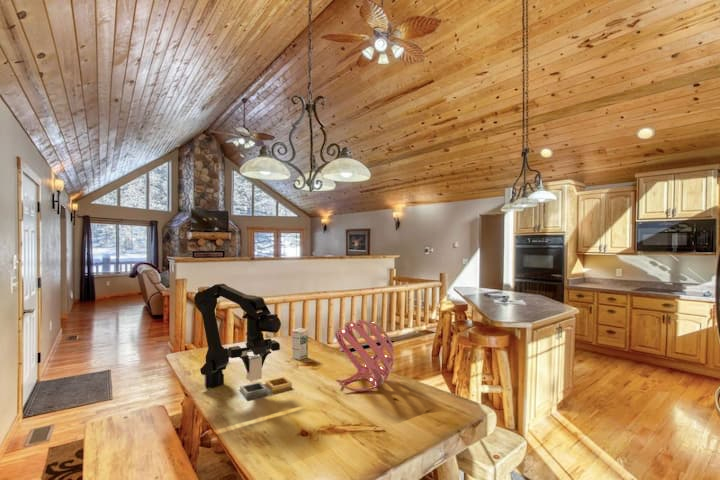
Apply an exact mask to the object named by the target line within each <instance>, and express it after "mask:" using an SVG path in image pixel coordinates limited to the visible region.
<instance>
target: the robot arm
mask: <svg viewBox="0 0 720 480" xmlns="http://www.w3.org/2000/svg"><path fill="white" fill-rule="evenodd" d="M220 297H222V298H224V299H226V300H229V301H230V302H233V303H234V304H236V305H239V306H240V309H241V310H242V311H243V312H245V314H243V315H242V317H241V318H242V319H245V320H246V332H245V336H246V343H245V347H240V345H235V346H229V347H226V348H225V347H224V346H223V345H222V343H221V336H220V332H219V327H218V322H217V321H218V320H217V315H216V308H217V306H218V299H219V298H220ZM193 300H194V304H195V308H196V309H197V310H198V311H199V312H200V313H201V315H202V322H203V327H204V328H203V329H204V331H205V332H204V334H205V338H206V344H207V351H206V354H205V363H204V365H203V366H201V368H200V373H201V375H203V376H204V387H205V388H206V389H207V388H217V387H220V386H222V385H224V383H225V374H224V373H223V371H224V370H226V369H227V366H228V364H229V362H230V359H235V358H236V359H237V358H239V359H241V360H242V362H243V364H244V367H245V371H246V373H247V372H248V373H249V361H248V359H249V355H248V353H252V354H253V356H254V355H259V356H260V357H262V367H263V366H264V363H265V361H266V358H267V357H268V355H270V354H272V352H275V351H277V352H278V351H280V350H281V344H280V342H278V341H277V340H273V339H272V338H267V339H265V338H264V333H273V334H276V333H278V332H279V331H280V329H281V327H282V322H281V319H280V318H279V317H278V314H277V313H273V314H271V311H270V309H269V308H268V306H267V303H266V301H265V299H264V298H263V297H262V296H257V295H252V294H246V293H244V292H241V291H239V290H237V289H235V288H234V287H230V286H228V285H227V284H226V283H216V284H214V285H213V286H210V287H208V288H206V289H204V290H201V291H198V292H196V293H195V295H194V297H193Z"/></svg>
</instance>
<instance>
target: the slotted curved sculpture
mask: <svg viewBox="0 0 720 480" xmlns="http://www.w3.org/2000/svg"><path fill="white" fill-rule="evenodd" d="M364 325H365V326H366V327H367V328H368V329H369V330H370V331H371V333H372V335H373V337H375V339H376V340H377V342H379V344H380V346H379V345H378V344H377V343H376V342H375V340H374V339H373V338H372V336H370V334H369V333H368V332H367V331H366V330H365V327H364ZM352 329H353V330H354V331H356V333H358V335H360V336H361V337H362V338H363V339H364V341H365V343H366V344H367V345H368V346H369V348H370V349H371V350H372V351H373V352H374V355H373V356H370V354H369V353H368V352H367V351H366V349H365V348H364V347H363V346H362V344H361V343H360V341H359V340H358V339H357V337H356V335H355V334H354V332H353V330H352ZM378 330H379V331H380V332H379V331H378ZM382 334H383V335H382ZM334 337H335V339H336V341H337V343H338V345H339V347H340V349H342V351H343V353H344V354H345V355H346V357H347V358H348V359H349V361H350V362H351V363H352V364H353V365H354V367H355V368H356V369H357V372H356V373H355V374H353V375H352V376H350V377H348V378H345V379H336V380H335V381H336V382H337V383H338V384H339V385H340V386H341V387H343V389H346V390H349V391H351V392H352V391H353V392H360V393H363V392H369V391H371V390H375V389H376V388H378V387H379V386H381V385H382V384H383V383H384V382H385V381H386V380H387V379H388V377H389V376H390V374H391V372H392V370H393V367H394V362H395V351H394V344H393V342H392V339H391V338H390V336H389V335H388V334H387V333H386V331H385V330H384V329H383V328H382V327H381V326H380V325H379V324H377V323H375V322H373V321H367V320H364V319H358V320H357V319H356V322H354V321H347V322H346V323H344V328H342V327H338V328H337V329H336V330H335V331H334ZM386 339H387V340H386ZM345 340H346V341H347V342H348V344H349V345H350V346H351V347H352V348H353V349H354V350H355V352H356V353H357V354H358V355H359V356H360V358H361V359H362V361H363V362H364V363H365V365H362V364H361V363H360V361H359V360H358V359H357V358H356V357H355V355H354V354H353V353H352V351H351V350H350V349H349V347H348V345H347V344H346V342H345ZM384 348H385V349H386V351H387V352H388V354H389V356H388V355H387V354H385V353H384V351H383V350H384ZM378 360H380V362H381V363H382V365H383V367H384V368H383V367H382V365H379V363H378ZM370 371H371V373H372V375H371V373H370ZM382 376H383V377H382ZM361 377H363V378H365V379H366V380H367V381H369V383H371V385H372V386H371V387H367V388H354V387H350V386H347V385H345V384H348V383H351V382H354V381H357V380H358V379H359V378H361Z"/></svg>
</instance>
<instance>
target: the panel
mask: <svg viewBox="0 0 720 480" xmlns="http://www.w3.org/2000/svg"><path fill="white" fill-rule="evenodd" d="M238 391H239V392H240V394H241V395H242V396H243V397H244V399H245V400H246V401H247V402H250V401H255V400H258V399H263V398H266V397H270V396H274V395H275V396H276V395H279V394H282V393H283V394H284V393H287V392H290V391H291V392H292V391H294V388H293V382H292V381H290V380H289V379H287V377H285V376H281V377H277V378H272V379H267V380H265V383H262V382H261V381H259V382H254V383H249V384H246V385H242V386H239V389H238Z"/></svg>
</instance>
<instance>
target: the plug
mask: <svg viewBox="0 0 720 480" xmlns="http://www.w3.org/2000/svg"><path fill="white" fill-rule="evenodd" d="M248 356H249V355H248ZM248 361H249V373H248V372H247V371H246V378H247V380H249V382H253V381H257V380H261V379H262V378H263V377H262V376H263V371H262V370H263V366H262V357H260V356H259V354H258V355H254V354H253V355H250V356H249V359H248Z"/></svg>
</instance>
